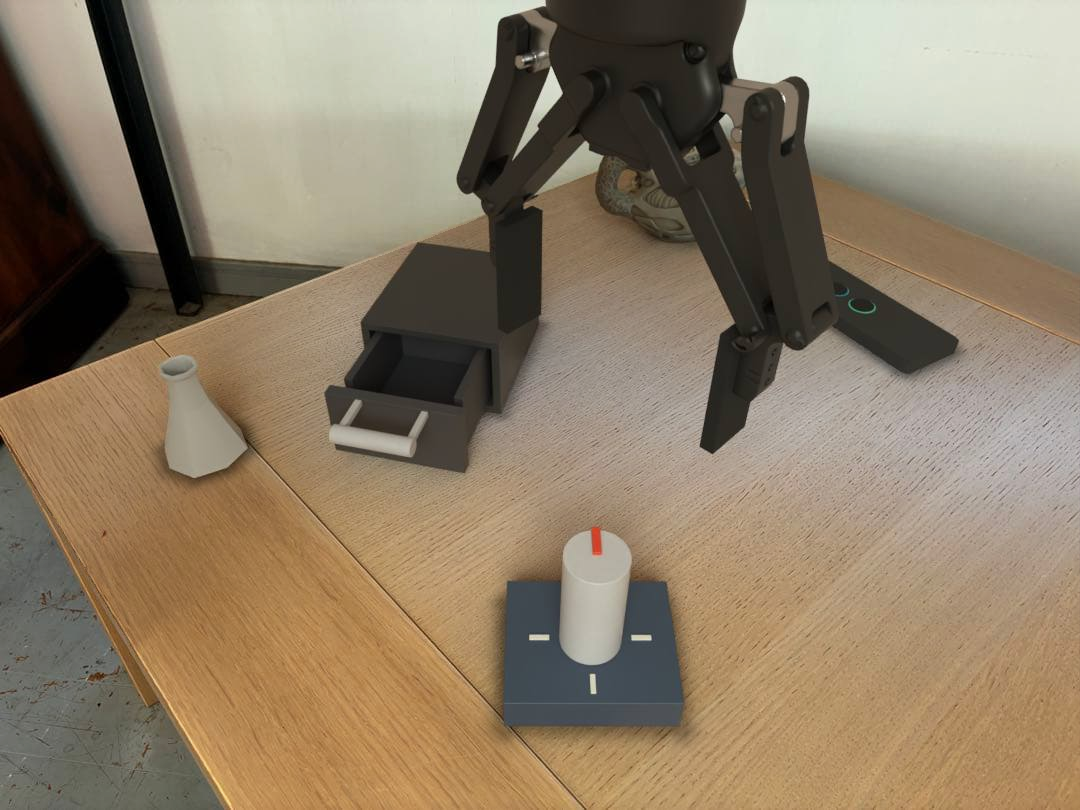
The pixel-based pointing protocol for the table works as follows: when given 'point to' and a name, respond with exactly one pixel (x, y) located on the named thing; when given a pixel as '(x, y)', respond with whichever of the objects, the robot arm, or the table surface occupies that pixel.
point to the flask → (196, 423)
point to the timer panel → (590, 690)
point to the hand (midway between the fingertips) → (612, 375)
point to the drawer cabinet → (452, 310)
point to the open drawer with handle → (411, 401)
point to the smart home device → (887, 325)
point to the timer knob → (593, 595)
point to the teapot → (648, 197)
